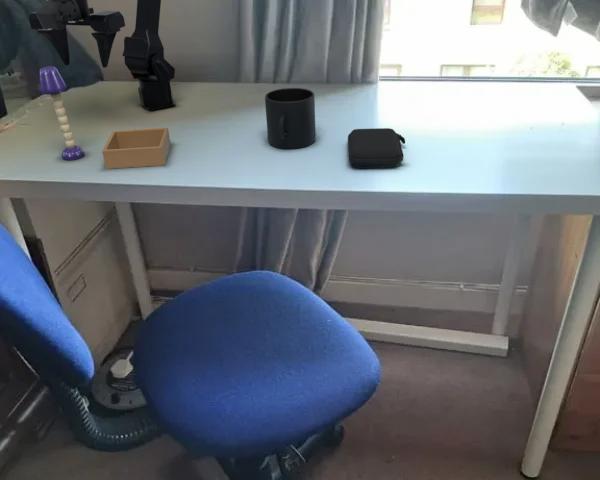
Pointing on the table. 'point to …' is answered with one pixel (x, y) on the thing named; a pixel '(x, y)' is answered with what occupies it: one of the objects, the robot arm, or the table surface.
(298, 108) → the mug
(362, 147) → the carrying case
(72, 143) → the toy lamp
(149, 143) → the box
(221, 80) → the table surface
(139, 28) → the robot arm
